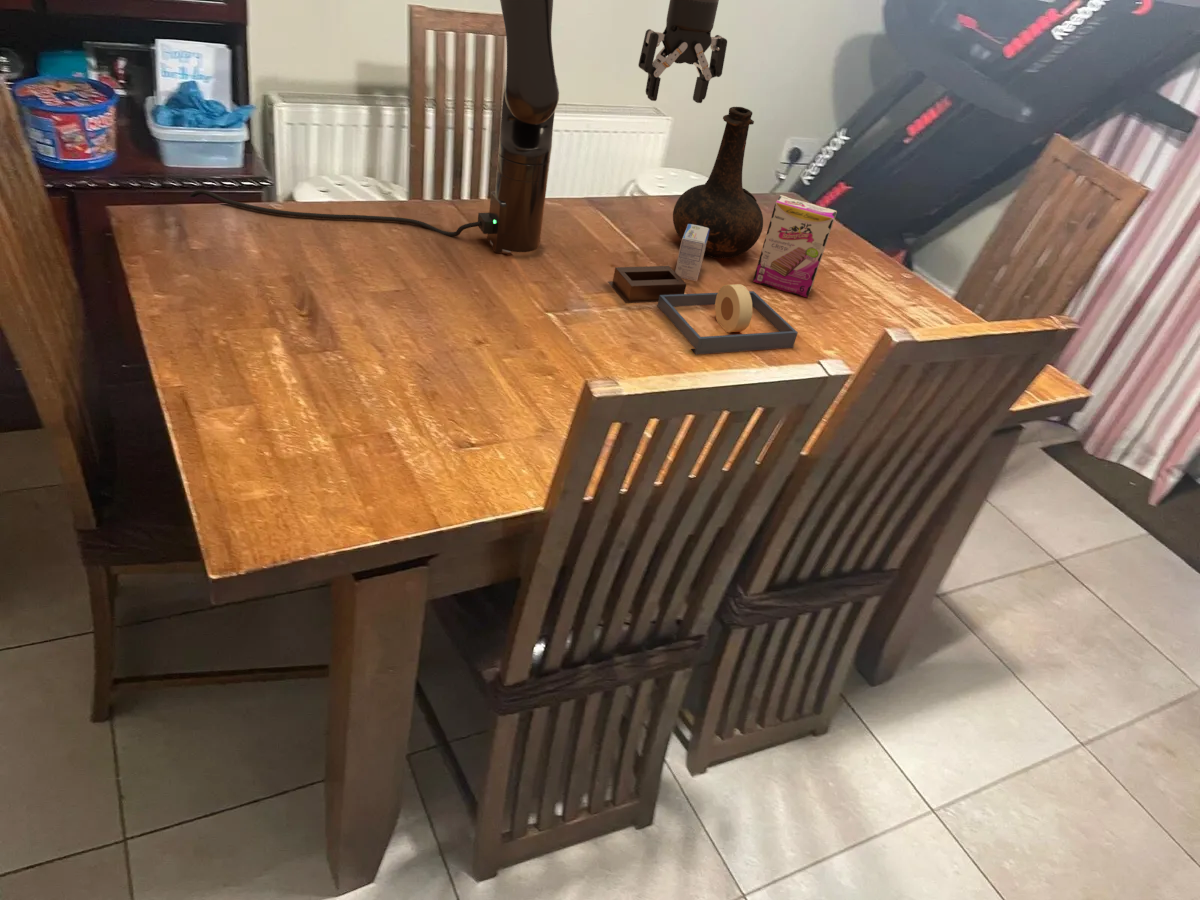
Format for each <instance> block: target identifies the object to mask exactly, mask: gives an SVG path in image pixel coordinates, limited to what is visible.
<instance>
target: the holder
mask: <svg viewBox="0 0 1200 900" xmlns="http://www.w3.org/2000/svg"><path fill="white" fill-rule="evenodd" d="M613 271H614V272H613V277H612V280H611V281H610V280H609V281H607V283H608V285H609V286H610V287H611V288H612V289H613V291H614V292H615V293H616V294H617V295H618V296H619V298H620V299H621V300H622V301H623V303H624V304H642V303H643V304H645V303H647V304H649V303H658V300H659V296H660V295H674V294H686V287H687V283H686V282H685V281H684V279H683V278H680V277H679V276H678V275H677V274H676V273H675V270H674V269H673V268H672V267H671V266H670V265H649V266H647V265H646V266H616V267H614V270H613Z"/></svg>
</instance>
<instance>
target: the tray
mask: <svg viewBox="0 0 1200 900" xmlns="http://www.w3.org/2000/svg"><path fill="white" fill-rule="evenodd" d="M748 291H749V293H750V296H751V299H752V308H754V309H756V311H757V312H759V313H760V314H761V315H762V316H763V318H765V319H766V321H768V322H769V323H770V324H771V325H772V326H773V327H774V328H775V329H776V330H777V331H772V332H758V333H757V332H756V333H754V332H753V333H741V334H739V333H737V334H725V335H709V336H707V335H706V336H700V335H699V333H698V332H697V331H696V330H695V329H694V328H693V327H692V326H691V324H689V322H688V321H687V320H686V319H685V318H684V317H683V316H682V314H680V313H679V311H678V310H677V309H676V307H691V306H694V307H695V306H710V305H711V306H712V305H713V306H715V301H716V296H717V294H718V292H701V293H684V294H674V295H660V296H659V300H658V302H657V307H658V309H660V311H661V312H662V313H663V314H664V315H665V317H666V318H668V320H669V321H670V322H671V323H672V324H673V325H674V327H675V328H676V329H677V330H678V331H679V332H680V333H681V335H683V337H684V338H685V339H686V340H687V341H688V342H689V343H690V345H692V347H693V348H690V350H691V352H692V353H693V354H694V355H697V356H698V355H711V354H722V353H723V354H724V353H738V352H739V353H740V352H752V351H766V350H767V351H768V350H780V349H781V350H782V349H793V348H794V345H795V343H796V340H797V337H798V333H799V332H798V331H797V330H796V329H795V328H794V327H793V326H791V324H789V323H788V322H787V321H786V320H785V319H784V318H783V317H782V316H781V315H780V314H779V313H778V312H776V310H774V309H773V308H772V307H771V306H770V305H769V304H768V303H767V302H766V301H765V300H764V299H763V298H761V296H760V295H759V294H757V293H756V292H755V291H754V290H748Z"/></svg>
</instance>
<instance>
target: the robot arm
mask: <svg viewBox="0 0 1200 900" xmlns="http://www.w3.org/2000/svg"><path fill="white" fill-rule="evenodd" d="M499 2H500V3H499V4H500V8H501V13H502V18H503V19H502V20H503V23H504V30H505V39H506V40H505V41H506V69H505V70H506V74H505V78H504V85H503V92H502V106H501V118H500V127H499V140H498V155H497V165H496V175H495V185H494V187H495V188H494V190H492V191H491V192H490V201H489V212H477V213H478V215H477V221H475V222H474V221H473V222H469V223H465V224H462V225H460V226H459V227H458V228H457V229H456V231H446V230H442V229H440V228H438V227H435V226H434V225H431V224H429V223H427V222H424V221H420V220H417V219H414V218H413V219H412V218H407V217H406V218H405V217H397V216H385V215H384V216H382V215H380V216H379V215H366V214H365V215H364V214H362V215H361V214H337V213H336V214H335V213H316V212H315V213H314V212H301V211H291V210H283V209H275V208H268V207H262V206H257V205H253V204H249V203H244V202H241V201H235V200H232V199H228V198H225V197H223V196H220V195H218V194H216V193H214V192H213V191H210V190H206V189H196V190H194V191H192V192H191V193H190V194H189V195H188V196H189V197H190V198H195V197H196V196H199V195H205V196H208V197H210V198H212V199H214V200H216V201H219V202H220V203H223V204H226V205H229V206H235V207H238V208H243V209H247V210H251V211H256V212H260V213H266V214H272V215H277V216H286V217H296V218H297V217H298V218H310V219H325V220H326V219H327V220H353V221H354V220H356V221H374V222H375V221H376V222H392V223H393V222H394V223H403V224H404V223H405V224H410V225H416V226H420V227H422V228H425V229H428V230H429V231H433V232H434V233H435V232H436V233H438V234H440V235H444V236H446V237H453V238H454V237H458V236H459V235H461V233H462V232H463V231H465V230H466V229H470V228H476V227H478V228H479V229H480V231H481V232H482V234H483V235H486V240H487V242H488V244H489V245H490V247H491V248H492V250H493V251H494V252H495V253H496V254H505V255H509V256H513V253H530V252H533V251H536V250H537V249H538V248H539V247H540V244H541V236H542V227H543V219H544V212H545V203H546V197H547V196H546V194H547V187H548V180H549V179H548V178H549V171H550V164H551V163H550V162H551V156H552V150H553V149H552V148H553V131H554V122H555V114H556V113H555V112H556V109H557V107H558V105H559V101H560V89H559V83H558V77H557V75H556V70H555V61H554V53H553V42H552V41H553V40H552V24H553V13H554V12H553V10H554V9H553V8H554V0H499ZM718 6H719V0H669V5H668V9H667V14H666V21H665V22H666V23H665V24H666V25H665V28H664V30H663V32H660V31H659V32H658V31H654V30H652V29H650V28H648V29H647V30H645V32H644V33H645V34H644V38H643V43H642V47H641V52H640V55H639V60H638V68H639V69H641V70H642V71H644V72H645V73H646V74H647V79H646V85H645V95H646V96H647V99H649V100H650V101H652V102H657V100H658V94H659V89H660V85H661V84H660V83H661V80H662V78H661V77H660V76H661V75H662V74H663V73H664V72H665V70H666V69H667V68H670V67H671V66H672V65H673V64H680V65H681V64H688V65H694V67H695V69H696V71H697V73H698V75H699V76H696V81H695V85H694V90H693V94H692V101H694V102H695V103H696V104H702V103H703V101H704V100H705V99H706V97H707V92H708V89H709V83H710V81H711V80H712V79H713V78H716V77H717V78H720V77H721V76H722V75H723V70H724V64H725V58H726V53H727V47H728V40H727V38H725V37H723V36H722V35H720V34H716V35H715V36H712V35H711V34H712V30H713V29H714V27H715V25H714V24H715V20H716V15H717V11H718ZM661 42H662V45H663V47H662V49H660V51H659V52H658V53H657V54H656V50H657V47H659V46H660V44H661ZM709 48H710V50H711V53H710V58H709V59H710V60H709V62H708V60H707V57H706V55H705V53H706V51H707V50H708V49H709Z"/></svg>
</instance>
